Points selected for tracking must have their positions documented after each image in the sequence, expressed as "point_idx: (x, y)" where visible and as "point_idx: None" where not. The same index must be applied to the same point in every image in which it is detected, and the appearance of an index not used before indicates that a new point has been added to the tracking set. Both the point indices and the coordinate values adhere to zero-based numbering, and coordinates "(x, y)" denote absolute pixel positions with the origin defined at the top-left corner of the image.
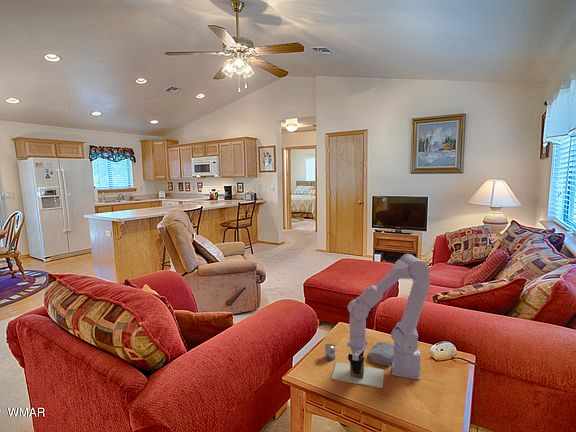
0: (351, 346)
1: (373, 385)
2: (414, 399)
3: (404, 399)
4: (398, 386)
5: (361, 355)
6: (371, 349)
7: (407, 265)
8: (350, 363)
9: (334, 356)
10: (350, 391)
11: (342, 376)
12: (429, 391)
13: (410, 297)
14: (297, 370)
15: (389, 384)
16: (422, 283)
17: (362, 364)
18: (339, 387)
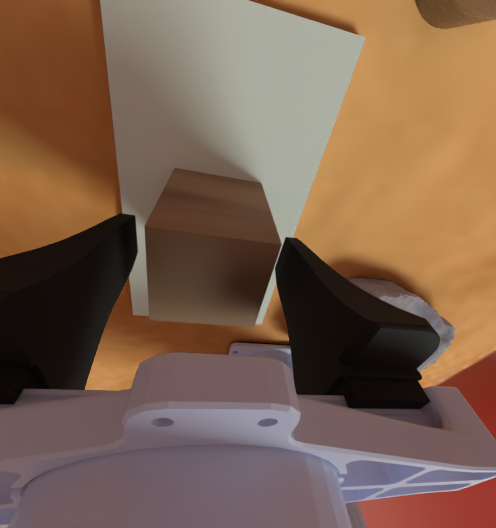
0: (54, 467)
1: (131, 285)
2: (115, 377)
3: (101, 359)
4: (169, 350)
5: (287, 302)
6: (415, 302)
7: None
8: (151, 217)
9: (445, 11)
10: (25, 158)
11: (158, 99)
12: None
13: None
14: None
15: (172, 330)
16: None
17: (150, 311)
18: (21, 62)
